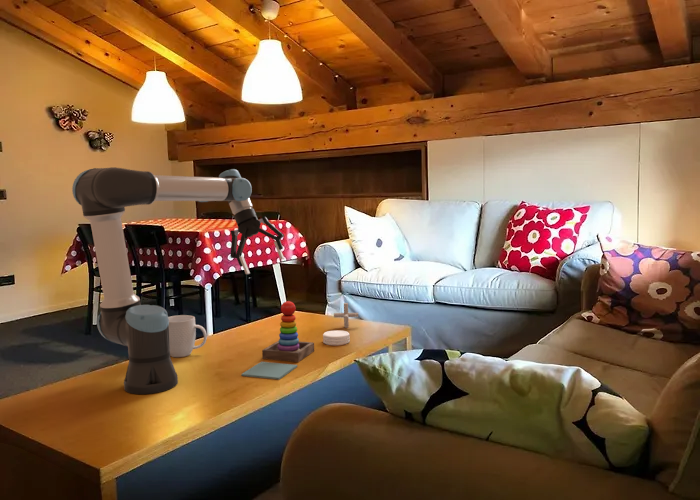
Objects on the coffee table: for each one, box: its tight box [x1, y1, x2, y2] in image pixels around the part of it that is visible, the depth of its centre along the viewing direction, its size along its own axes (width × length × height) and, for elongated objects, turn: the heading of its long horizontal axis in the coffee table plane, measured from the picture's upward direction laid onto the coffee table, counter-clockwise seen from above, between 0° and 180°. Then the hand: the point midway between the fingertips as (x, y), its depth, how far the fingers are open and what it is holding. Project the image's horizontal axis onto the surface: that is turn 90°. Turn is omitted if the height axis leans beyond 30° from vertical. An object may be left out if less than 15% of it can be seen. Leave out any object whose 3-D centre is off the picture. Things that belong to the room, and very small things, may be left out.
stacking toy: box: [278, 300, 300, 352], centre depth 201 cm, size 8×8×19 cm
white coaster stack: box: [322, 329, 351, 346], centre depth 217 cm, size 10×10×4 cm
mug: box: [168, 314, 208, 358], centre depth 204 cm, size 15×11×13 cm
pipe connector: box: [333, 302, 359, 329], centre depth 238 cm, size 10×10×10 cm
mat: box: [241, 361, 298, 380], centre depth 184 cm, size 13×13×1 cm
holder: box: [261, 340, 315, 363], centre depth 201 cm, size 13×13×3 cm
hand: (265, 266), depth 205 cm, fingers open, 13 cm apart
